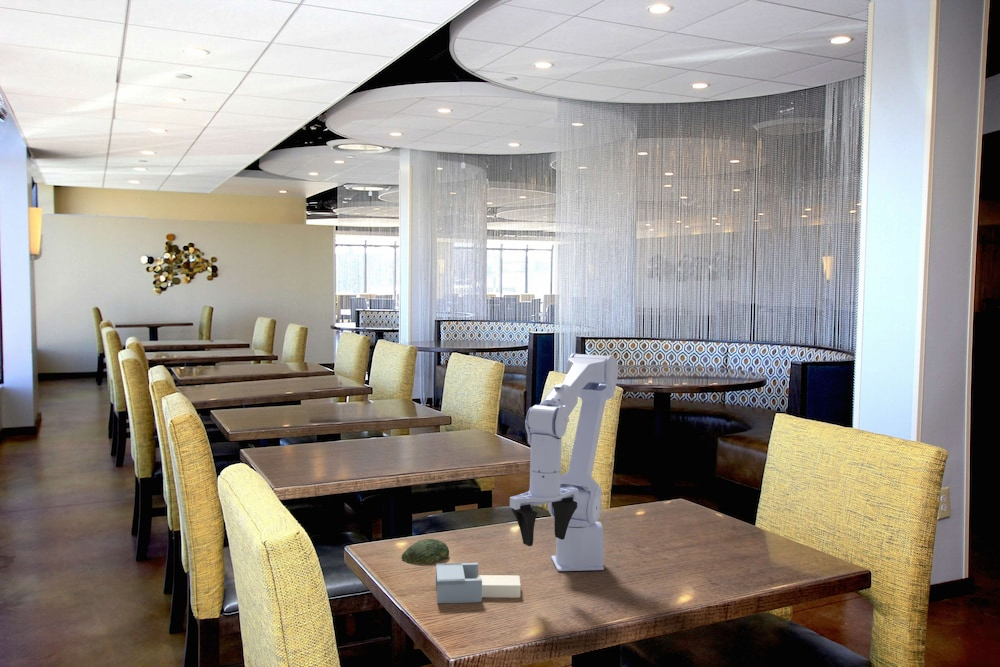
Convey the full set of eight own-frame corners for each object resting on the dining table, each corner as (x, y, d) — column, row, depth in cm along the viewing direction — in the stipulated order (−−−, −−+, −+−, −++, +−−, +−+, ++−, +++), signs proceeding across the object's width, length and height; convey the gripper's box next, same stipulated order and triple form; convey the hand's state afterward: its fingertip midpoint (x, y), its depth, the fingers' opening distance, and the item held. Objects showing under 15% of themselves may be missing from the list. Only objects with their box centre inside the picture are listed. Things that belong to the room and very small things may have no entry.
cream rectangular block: (518, 588, 147) (519, 575, 147) (520, 599, 142) (520, 585, 142) (476, 588, 147) (477, 575, 147) (476, 599, 142) (476, 585, 142)
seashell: (409, 529, 168) (454, 533, 166) (410, 547, 169) (454, 551, 167) (394, 547, 159) (441, 552, 157) (394, 566, 159) (441, 571, 157)
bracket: (477, 583, 149) (477, 562, 149) (481, 602, 140) (482, 580, 140) (435, 584, 148) (436, 563, 148) (437, 603, 139) (437, 581, 139)
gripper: (563, 461, 152) (561, 529, 152) (501, 469, 144) (499, 541, 144) (586, 468, 146) (584, 539, 146) (522, 477, 138) (521, 552, 139)
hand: (544, 541), depth 145 cm, fingers open, 7 cm apart
